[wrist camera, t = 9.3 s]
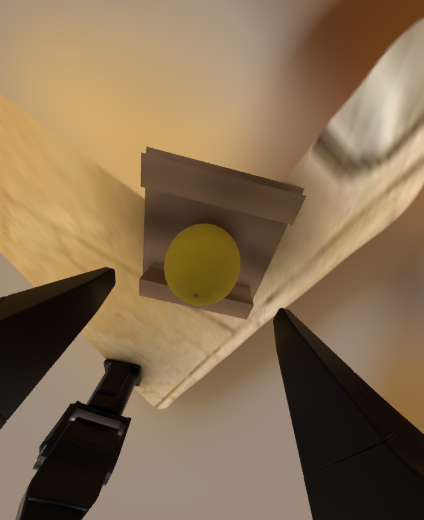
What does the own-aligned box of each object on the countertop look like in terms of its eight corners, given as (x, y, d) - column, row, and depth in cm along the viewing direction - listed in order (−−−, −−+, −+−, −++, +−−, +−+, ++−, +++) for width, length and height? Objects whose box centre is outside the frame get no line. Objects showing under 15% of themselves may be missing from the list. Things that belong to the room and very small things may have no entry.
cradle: (249, 298, 20) (254, 324, 16) (146, 274, 19) (129, 296, 16) (299, 187, 14) (324, 191, 10) (151, 148, 13) (125, 138, 10)
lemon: (207, 275, 18) (196, 342, 11) (169, 240, 16) (125, 290, 9) (248, 244, 16) (267, 300, 9) (209, 200, 14) (193, 224, 7)
